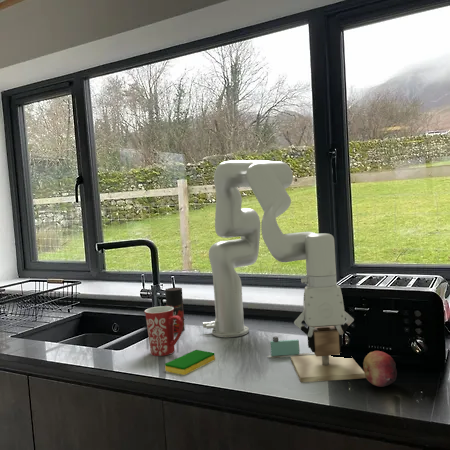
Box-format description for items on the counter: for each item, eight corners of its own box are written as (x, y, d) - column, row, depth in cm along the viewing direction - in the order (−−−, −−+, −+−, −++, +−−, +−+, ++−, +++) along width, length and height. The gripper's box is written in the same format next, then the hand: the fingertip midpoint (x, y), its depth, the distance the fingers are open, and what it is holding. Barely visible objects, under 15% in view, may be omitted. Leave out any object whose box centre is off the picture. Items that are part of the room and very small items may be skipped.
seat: (276, 383, 120) (275, 367, 119) (267, 356, 141) (266, 341, 140) (365, 378, 120) (364, 361, 120) (343, 351, 141) (342, 336, 141)
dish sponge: (164, 372, 134) (164, 363, 134) (196, 357, 145) (196, 349, 145) (184, 376, 130) (183, 367, 130) (215, 360, 141) (215, 352, 141)
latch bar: (271, 356, 139) (270, 338, 138) (271, 354, 140) (270, 336, 140) (299, 354, 139) (298, 336, 139) (298, 352, 140) (297, 334, 140)
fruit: (365, 378, 120) (364, 346, 119) (398, 380, 117) (397, 348, 116) (361, 390, 113) (359, 356, 112) (396, 393, 110) (395, 358, 109)
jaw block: (316, 356, 124) (315, 333, 124) (311, 349, 130) (310, 327, 130) (339, 354, 124) (338, 331, 124) (334, 347, 130) (333, 325, 130)
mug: (141, 355, 149) (138, 311, 148) (160, 346, 156) (157, 305, 156) (173, 360, 142) (170, 314, 141) (192, 351, 150) (189, 307, 149)
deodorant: (169, 333, 171) (166, 291, 170) (167, 329, 177) (164, 288, 176) (185, 331, 172) (183, 289, 171) (183, 327, 178) (180, 286, 177)
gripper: (290, 286, 123) (294, 356, 123) (358, 281, 123) (362, 351, 124) (286, 281, 130) (290, 347, 131) (350, 276, 130) (354, 343, 131)
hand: (325, 349), depth 127 cm, fingers closed on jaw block, 6 cm apart
